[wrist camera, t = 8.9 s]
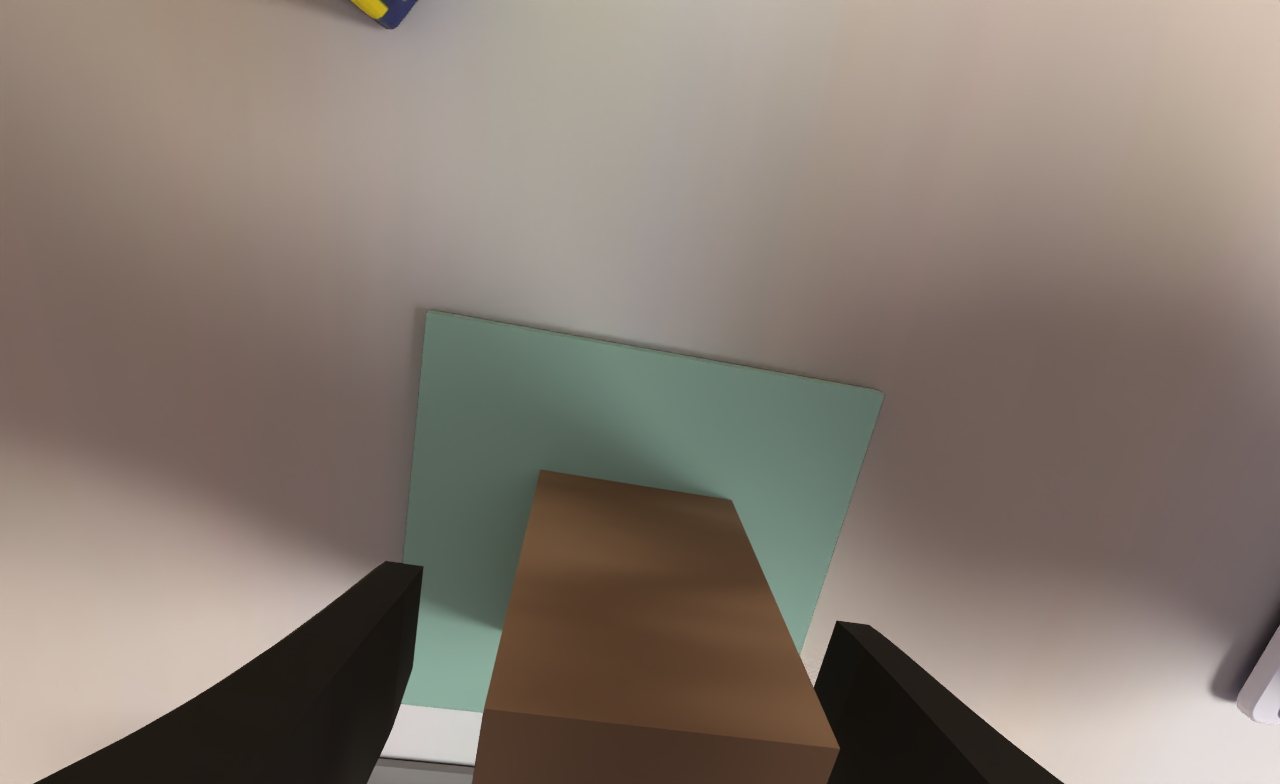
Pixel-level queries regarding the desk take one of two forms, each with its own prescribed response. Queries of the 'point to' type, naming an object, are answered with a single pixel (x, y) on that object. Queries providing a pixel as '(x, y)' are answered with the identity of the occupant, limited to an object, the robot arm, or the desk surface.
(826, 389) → the felt pad
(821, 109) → the desk surface
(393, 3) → the supplement box
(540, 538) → the walnut block
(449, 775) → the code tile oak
